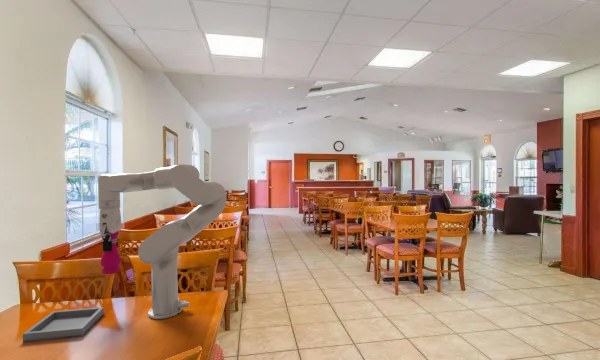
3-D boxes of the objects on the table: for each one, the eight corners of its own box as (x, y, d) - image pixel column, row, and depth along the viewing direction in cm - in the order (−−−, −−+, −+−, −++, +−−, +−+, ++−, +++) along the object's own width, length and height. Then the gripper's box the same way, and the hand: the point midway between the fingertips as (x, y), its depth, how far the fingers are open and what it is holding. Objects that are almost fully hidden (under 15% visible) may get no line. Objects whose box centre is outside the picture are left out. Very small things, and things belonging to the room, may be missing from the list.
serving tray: (103, 313, 129) (103, 307, 129) (82, 336, 111) (82, 328, 111) (53, 318, 126) (52, 311, 126) (22, 342, 108) (22, 334, 108)
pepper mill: (111, 275, 127) (110, 224, 127) (96, 274, 129) (95, 224, 128) (125, 269, 134) (124, 221, 134) (110, 268, 136) (109, 221, 135)
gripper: (110, 206, 123) (111, 254, 123) (127, 202, 140) (128, 244, 140) (89, 207, 122) (90, 255, 122) (108, 202, 139) (109, 245, 139)
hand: (110, 248), depth 131 cm, fingers closed on pepper mill, 5 cm apart
